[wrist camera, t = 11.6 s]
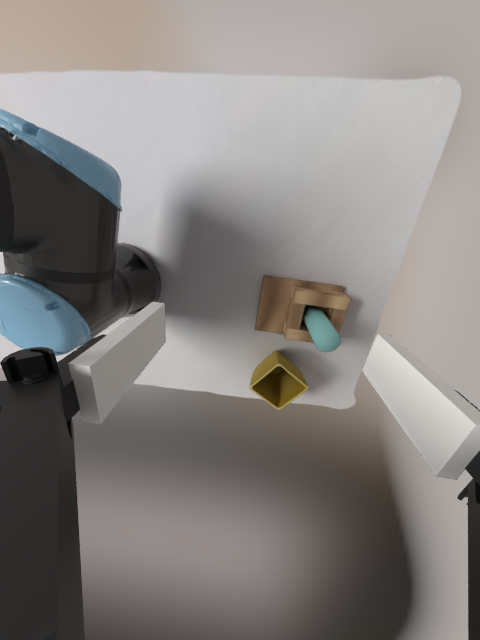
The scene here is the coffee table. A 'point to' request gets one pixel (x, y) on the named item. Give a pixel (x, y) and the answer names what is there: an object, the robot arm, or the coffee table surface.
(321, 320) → the peg
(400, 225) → the coffee table surface
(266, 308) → the socket board
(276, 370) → the flower pot
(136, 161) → the coffee table surface
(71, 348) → the robot arm
